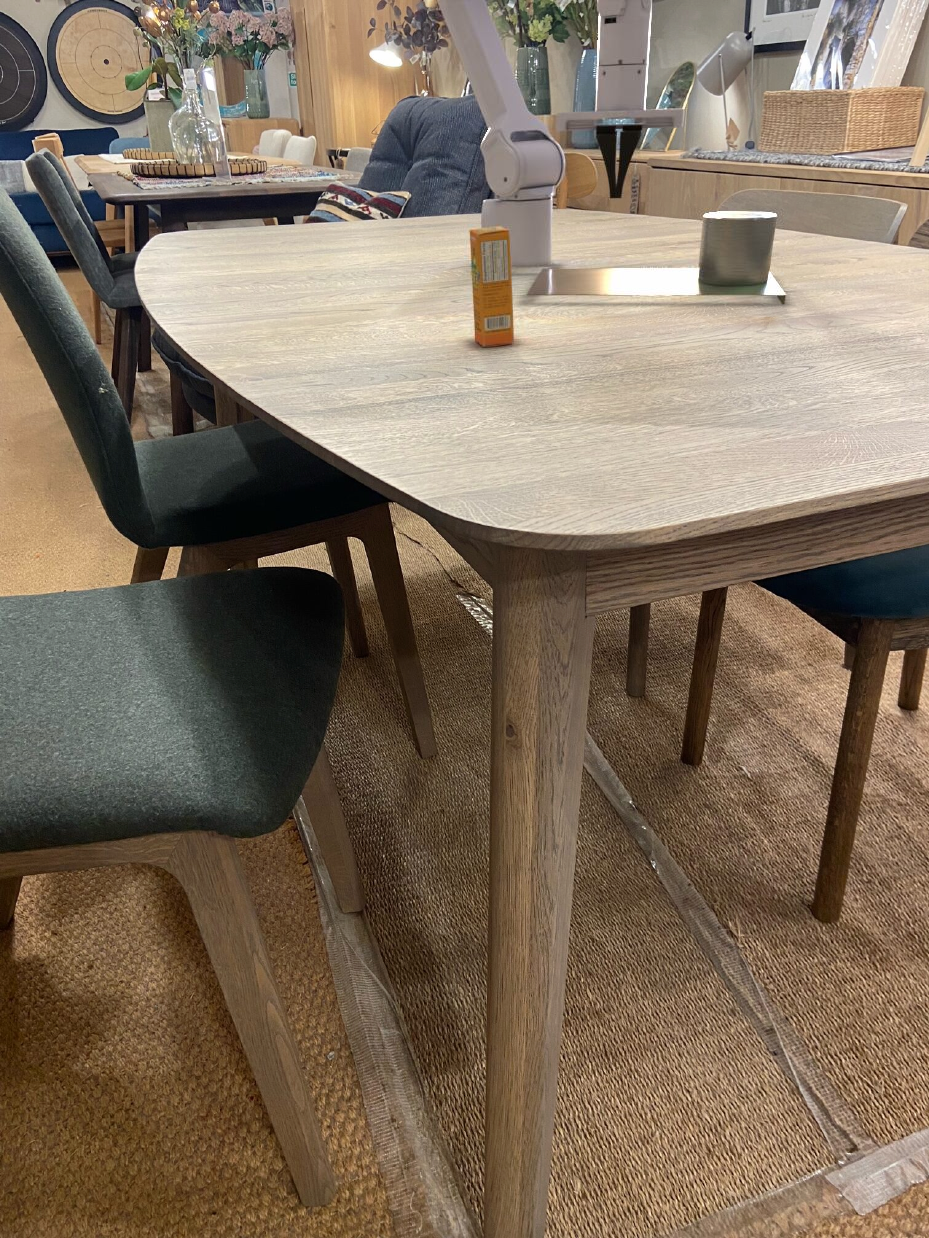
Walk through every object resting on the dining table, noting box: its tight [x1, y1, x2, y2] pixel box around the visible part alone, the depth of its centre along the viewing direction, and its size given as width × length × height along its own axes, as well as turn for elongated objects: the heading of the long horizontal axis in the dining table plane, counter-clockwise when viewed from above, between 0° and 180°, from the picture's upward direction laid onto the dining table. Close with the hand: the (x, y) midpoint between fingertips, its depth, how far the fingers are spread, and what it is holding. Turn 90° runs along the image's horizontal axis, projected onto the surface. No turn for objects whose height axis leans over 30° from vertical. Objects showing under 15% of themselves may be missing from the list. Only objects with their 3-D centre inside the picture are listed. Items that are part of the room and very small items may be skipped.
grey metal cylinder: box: [697, 210, 778, 286], centre depth 102 cm, size 8×8×7 cm
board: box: [526, 267, 787, 305], centre depth 105 cm, size 28×18×1 cm, turn 80°
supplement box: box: [468, 226, 515, 348], centre depth 82 cm, size 3×3×10 cm
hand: (615, 197), depth 107 cm, fingers closed
